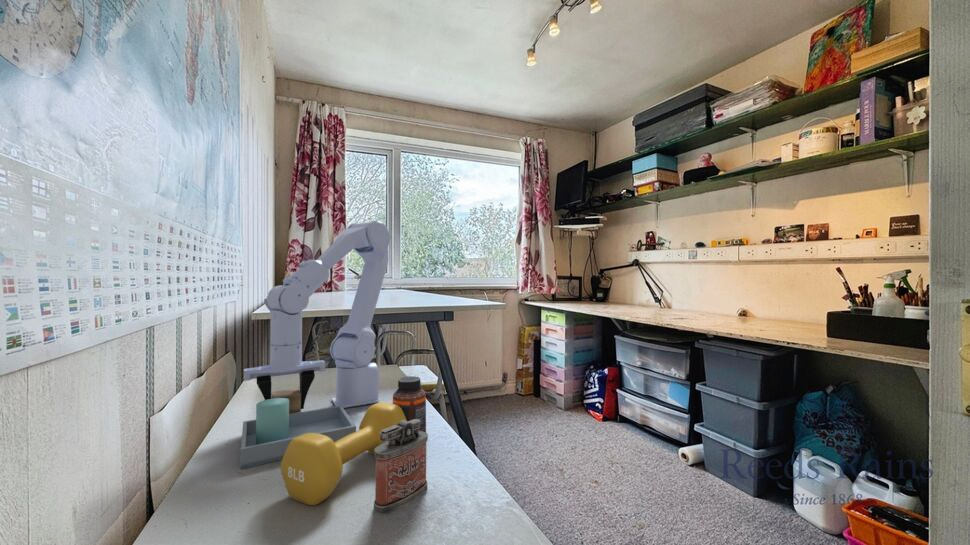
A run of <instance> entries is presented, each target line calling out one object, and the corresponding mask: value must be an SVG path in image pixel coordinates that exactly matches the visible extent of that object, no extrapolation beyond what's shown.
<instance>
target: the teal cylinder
mask: <svg viewBox="0 0 970 545" xmlns="http://www.w3.org/2000/svg"><path fill="white" fill-rule="evenodd" d="M255 408H256V409H255V415H256V416H255V420H256V445H258V444H263V443H268V442H273V441H278V440H283V439H288V438H289V399H287V398H273V399H268V400H265V399H263V400H261V401H259V402H257V403H256V407H255Z"/></svg>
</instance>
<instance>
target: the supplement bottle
mask: <svg viewBox="0 0 970 545" xmlns="http://www.w3.org/2000/svg"><path fill="white" fill-rule="evenodd" d="M397 381H398V382H397V383H398V384H397V387H398V388H397V389H396V390H395V391H394V392H393V394H392V404H396V405H398V406H400V408H401V409H402V411H403V413H404V415H405V417H406V420H407V422H408V421H411V420H413V419H419V420H420V428H419V431H423V432H426V433H427V398H426V397H427V394H426V391H425V390H424V388H422V387H421V384H422V383H421V377H419V376H410V375H409V376H404V377H400V378H398V380H397Z"/></svg>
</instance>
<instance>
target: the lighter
mask: <svg viewBox="0 0 970 545" xmlns="http://www.w3.org/2000/svg"><path fill="white" fill-rule="evenodd" d="M419 428H420V420H419V419H413V420H411V421H408V422H407V421H405V420H401V421H399V422H398V424H397V426H396V425H394V426H391V427H388V428H386V429H383V430H382V431H381V432H380V440H381V441H383V442H385V443H383V444H381V445H379V446H377V447H376V448H375V449H374V454H373V456H374V458H375V487H374V488H375V494H374V495H375V497H374V501H373V510H374V512H375V513H376V514H379V515H386V514H389V513H392V512H394V511H396V510H398V509H401V508H403V507H405V506H407V505H408V504H411V503H412V502H413V501H415V500H417V499H418V498H420V496H422V495H423V494H424V493H426V492H427V490H428V480H427V442H428V439H429V438H428V436H429V434H428V432H427V431H426V432H423V431H419ZM386 441H387V442H386ZM425 491H426V492H425Z"/></svg>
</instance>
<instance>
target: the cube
mask: <svg viewBox="0 0 970 545" xmlns="http://www.w3.org/2000/svg"><path fill="white" fill-rule="evenodd" d="M273 398H287V399H289V414H292V413H298V412H302V409H301V393H300V387H298V388H289V389H283V390H282V389H281V390H278V391H271V399H273Z"/></svg>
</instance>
